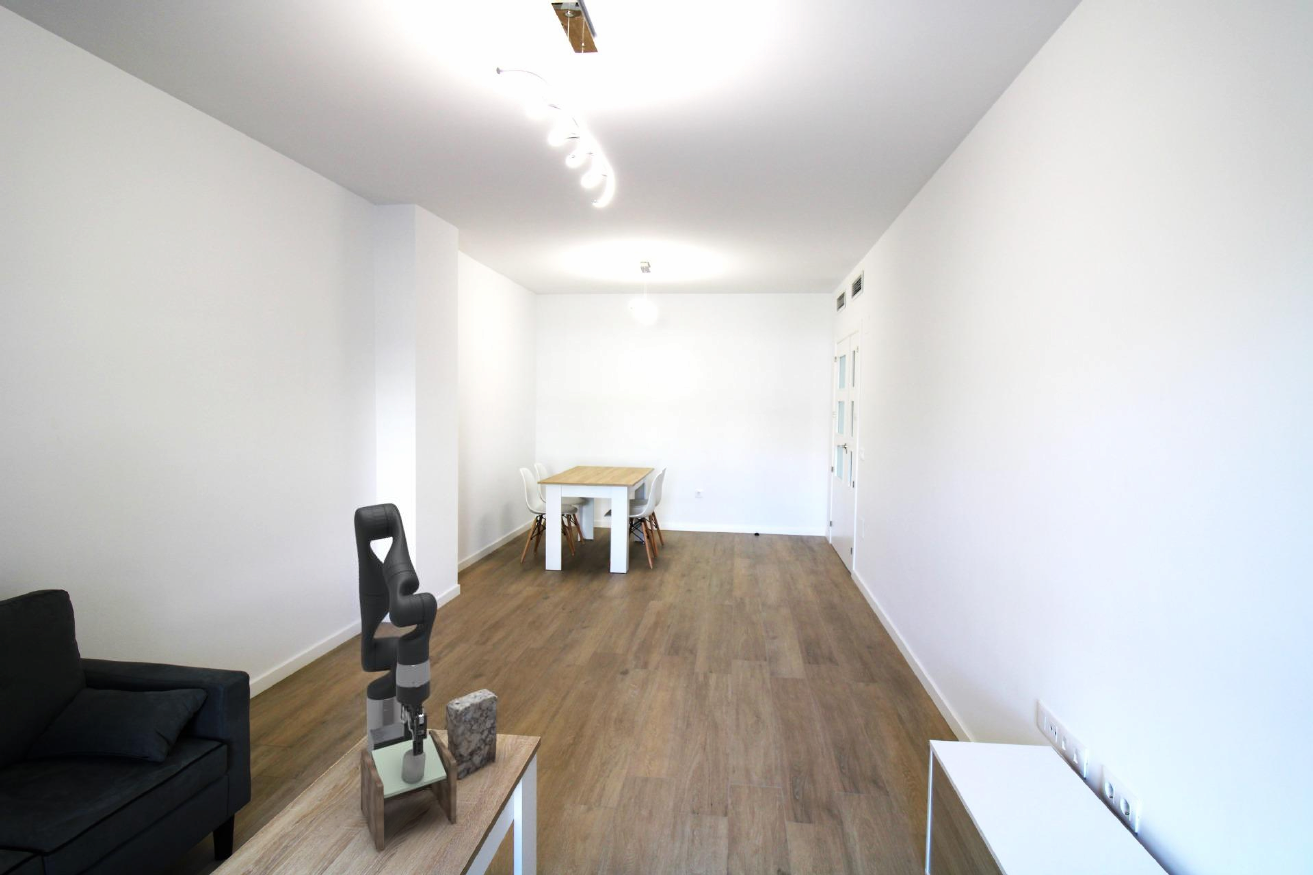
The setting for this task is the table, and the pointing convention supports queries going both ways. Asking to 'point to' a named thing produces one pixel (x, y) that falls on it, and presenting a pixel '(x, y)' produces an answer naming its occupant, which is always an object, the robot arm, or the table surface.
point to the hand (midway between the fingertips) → (413, 746)
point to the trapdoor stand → (375, 791)
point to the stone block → (472, 731)
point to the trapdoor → (401, 759)
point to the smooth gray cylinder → (413, 767)
